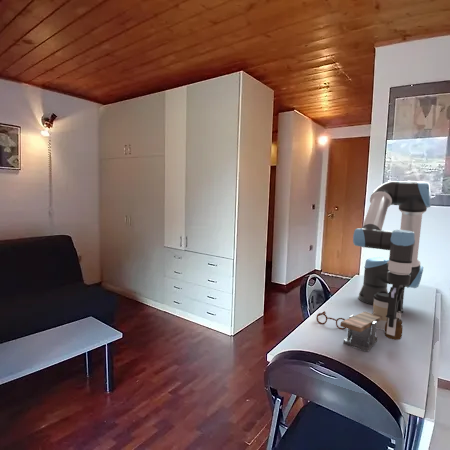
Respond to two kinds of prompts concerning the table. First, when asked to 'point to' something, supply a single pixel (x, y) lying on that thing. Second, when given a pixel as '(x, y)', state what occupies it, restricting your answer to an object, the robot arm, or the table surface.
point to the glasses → (329, 318)
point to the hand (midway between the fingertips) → (392, 331)
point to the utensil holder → (397, 331)
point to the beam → (361, 321)
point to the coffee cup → (381, 307)
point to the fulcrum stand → (362, 338)
